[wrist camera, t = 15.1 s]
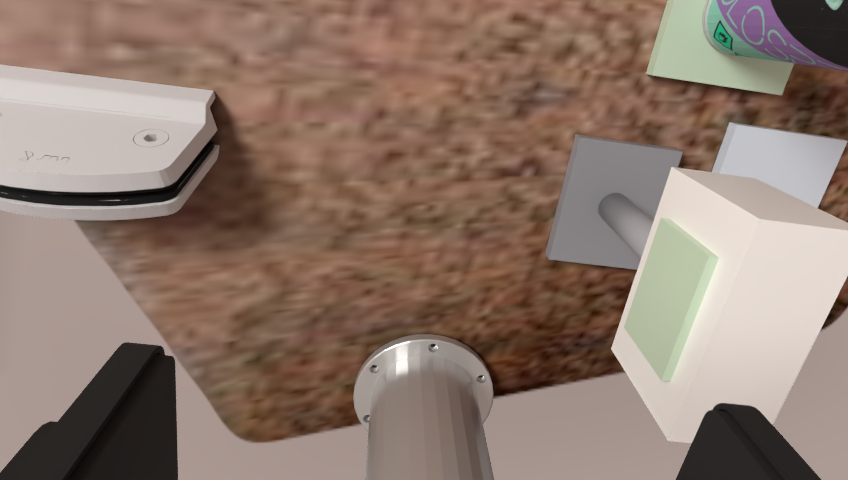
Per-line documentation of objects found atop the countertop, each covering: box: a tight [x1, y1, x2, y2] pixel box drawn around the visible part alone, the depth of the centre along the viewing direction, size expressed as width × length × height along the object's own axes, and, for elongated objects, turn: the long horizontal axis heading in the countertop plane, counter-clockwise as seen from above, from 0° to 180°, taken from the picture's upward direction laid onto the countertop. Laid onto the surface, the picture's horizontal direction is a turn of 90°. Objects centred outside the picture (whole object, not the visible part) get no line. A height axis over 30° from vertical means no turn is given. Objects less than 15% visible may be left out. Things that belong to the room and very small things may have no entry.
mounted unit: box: [545, 134, 848, 443], centre depth 35 cm, size 12×8×20 cm, turn 172°
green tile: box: [646, 0, 794, 95], centre depth 38 cm, size 10×10×1 cm
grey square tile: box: [712, 122, 848, 208], centre depth 43 cm, size 9×9×1 cm
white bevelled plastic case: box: [0, 65, 220, 220], centre depth 36 cm, size 17×5×10 cm, turn 83°
